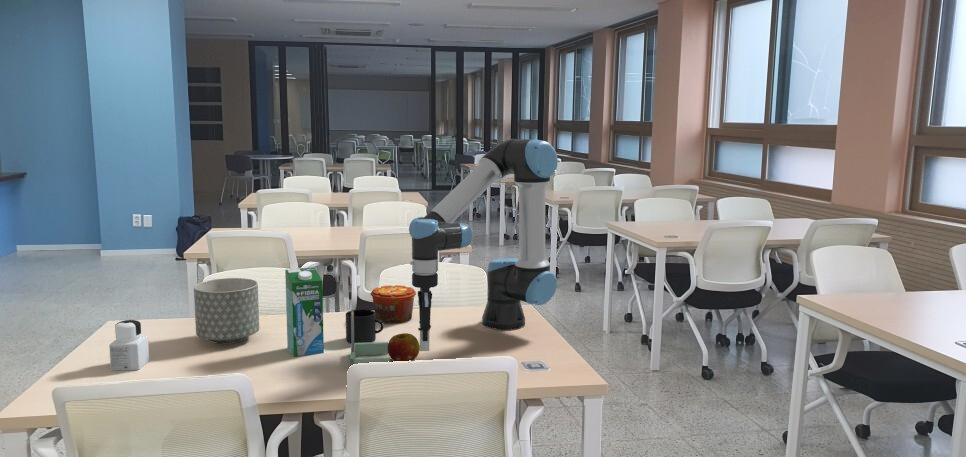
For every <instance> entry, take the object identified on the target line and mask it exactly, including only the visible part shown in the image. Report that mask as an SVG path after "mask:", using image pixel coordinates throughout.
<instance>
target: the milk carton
mask: <svg viewBox="0 0 966 457" xmlns="http://www.w3.org/2000/svg"><path fill="white" fill-rule="evenodd" d="M284 271H285V273H284V274H285V299H286V300H285V302H286V303H285V304H286V305H285V306H286V309H285V310H286V335H287V336H286V338H287V339H286V340H287V342H286V343H287V349H288V350H289V352H290V354H292V356H293V357H301V356H309V355H315V354H322V353H324V352H325V351H324V349H325V348H324V346H325V344H324V342H325V341H324V303H323V302H324V300H323V298H324V297H323V295H324V294H323V293H324V292H323V279H322V277H321V276H320V274H319V272H318V270H317V269H316V267H314V266H313V267H302V268H301V267H300V268H290V269H289V268H288V269H285V270H284Z"/></svg>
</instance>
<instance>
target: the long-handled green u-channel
mask: <svg viewBox="0 0 966 457" xmlns="http://www.w3.org/2000/svg"><path fill="white" fill-rule="evenodd" d="M350 311H351V310H350ZM388 343H389V341H378V342H376V341H374V342H369V343H354V311H351V343H350V358H349V359H350V362H349V363H350V366H351V365H353V364H358V363H369V362H388V361H390V362H391V357H390V356H389V357H367V358H366V357H365V358H364V357H363V358H356V356H370V355H371V356H372V355H373V356H376V355H389V354H388ZM350 366H349V367H350Z"/></svg>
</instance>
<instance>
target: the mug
mask: <svg viewBox="0 0 966 457" xmlns="http://www.w3.org/2000/svg"><path fill="white" fill-rule="evenodd" d="M351 311H354V343H369V342H376V339H377V336H376V334H379V333H381V332H382V331H383V329H384V323H382V321H380V320H378V319H376V315H375V312H374V310H372V309H365V308H360V309H352V310H349V311H347V312H345V341H346V342H347V343H349V344H351ZM377 323H378V324H379V325H380V328H379V329H378V330H377V329H376V326H377Z"/></svg>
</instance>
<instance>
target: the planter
mask: <svg viewBox="0 0 966 457" xmlns="http://www.w3.org/2000/svg"><path fill="white" fill-rule="evenodd" d="M258 286H259V283H258V282H257V281H256V280H255V279H252V278H251V279H250V278H245V277H244V278H243V277H242V278H241V277H227V278H226V277H225V278H217V279H216V278H214V279H210V280H204V281H201V282H199V283H196V284H195V285H194V286H193V296H194V316H195V318H194V320H195V335H196V336H197V338H200V339H202V340H207V341H209V342H212V343H215V344H221V345H229V344H235V343H239V342H241V341H243V340H245V339H247V338H249V337H250V336H253V335H255V334H256V333H258V332H259V331H260V310H259V309H260V308H259V307H260V305H259V303H260V302H259V287H258Z"/></svg>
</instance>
